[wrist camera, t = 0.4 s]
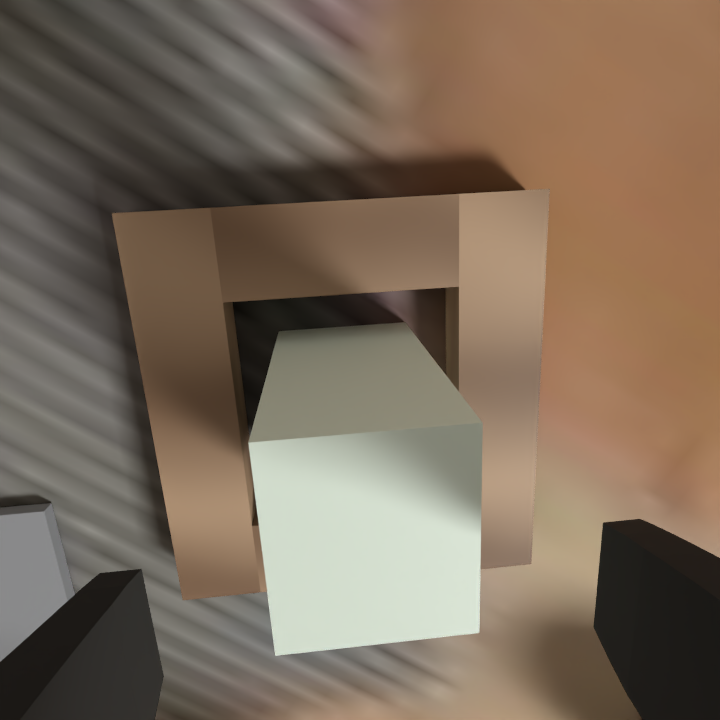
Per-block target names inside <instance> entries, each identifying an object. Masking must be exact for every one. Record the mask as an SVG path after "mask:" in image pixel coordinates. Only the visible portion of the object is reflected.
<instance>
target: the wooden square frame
mask: <svg viewBox="0 0 720 720" xmlns="http://www.w3.org/2000/svg"><path fill="white" fill-rule="evenodd" d="M549 192H550V189H538V190H520V191H502V192H484V193H466V194H448V195H430V196H412V197H394V198H377V199H359V200H341V201H323V202H305V203H287V204H269V205H251V206H233V207H215V208H197V209H179V210H161V211H143V212H125V213H112V218H113V224H114V229H115V234H116V240H117V245H118V251H119V256H120V262H121V267H122V272H123V278H124V283H125V289H126V294H127V300H128V305H129V310H130V316H131V321H132V327H133V332H134V338H135V343H136V348H137V354H138V359H139V365H140V370H141V376H142V381H143V386H144V392H145V397H146V403H147V408H148V413H149V419H150V424H151V430H152V435H153V441H154V446H155V451H156V457H157V462H158V468H159V473H160V479H161V484H162V489H163V495H164V500H165V506H166V511H167V517H168V522H169V527H170V533H171V538H172V544H173V549H174V555H175V560H176V565H177V571H178V576H179V582H180V587H181V593H182V598H183V600H190V599H199V598H209V597H219V596H228V595H238V594H247V593H257V592H267V586H266V578H265V570H264V562H263V554H262V546H261V539H260V531H259V523H258V515H257V507H256V499H255V491H254V483H253V475H252V468H251V460H250V452H249V444H248V442H249V430H248V422H247V414H246V406H245V398H244V390H243V382H242V374H241V366H240V358H239V350H238V342H237V334H236V326H235V318H234V310H233V302H239V301H253V300H268V299H283V298H298V297H313V296H327V295H342V294H357V293H372V292H387V291H401V290H416V289H431V288H446V376H447V377H448V378H449V380H450V381H451V382H452V384H453V385H454V386H455V387H456V389H457V390H458V391H459V393H460V394H461V395H462V396H463V398H464V399H465V400H466V402H467V403H468V404H469V406H470V407H471V408H472V409H473V411H474V412H475V413H476V415H477V416H478V417H479V419H480V420H481V421H482V422H483V437H482V500H481V563H480V569H488V568H497V567H507V566H516V565H526V564H531V558H532V537H533V517H534V497H535V476H536V456H537V436H538V415H539V395H540V375H541V354H542V334H543V314H544V293H545V273H546V253H547V232H548V212H549Z"/></svg>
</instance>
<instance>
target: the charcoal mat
mask: <svg viewBox="0 0 720 720" xmlns="http://www.w3.org/2000/svg"><path fill="white" fill-rule="evenodd" d="M74 595H75V593H74V589H73V585H72V581H71V577H70V573H69V570H68V566H67V562H66V558H65V554H64V550H63V546H62V542H61V538H60V534H59V531H58V527H57V523H56V519H55V515H54V511H53V507H52V503H46V504H35V505H23V506H12V507H1V508H0V662H1V661H2V660H3V659H4V658H5V657H6V656H7V655H8V654H9V653H11V652H12V651H13V650H14V649H15V648H16V647H17V646H18V645H20V644H21V643H22V642H23V641H24V640H25V639H26V638H27V637H29V636H30V635H31V634H32V633H33V632H34V631H35V630H36V629H37V628H38V627H40V626H41V625H42V624H43V623H44V622H45V621H46V620H47V619H48V618H49V617H51V616H52V615H53V614H54V613H55V612H56V611H57V610H58V609H59V608H60V607H62V606H63V605H64V604H65V603H66V602H67V601H68V600H69V599H70V598H72V597H73V596H74Z"/></svg>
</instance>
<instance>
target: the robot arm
mask: <svg viewBox="0 0 720 720" xmlns="http://www.w3.org/2000/svg"><path fill="white" fill-rule="evenodd" d="M594 629H595V631H596V633H597V635H598V637H599V639H600V641H601V644H602V646H603V648H604V650H605V652H606V654H607V656H608V658H609V660H610V662H611V664H612V666H613V668H614V670H615V672H616V674H617V676H618V678H619V680H620V682H621V684H622V686H623V688H624V689H625V691H626V693H627V695H628V697H629V698H630V700H631V701H632V703H633V705H634V706H635V708H636V709H637V711H638V713H639V714H640V716H641V717H642V719H643V720H720V558H719V557H717V556H715V555H713V554H711V553H709V552H707V551H705V550H703V549H701V548H699V547H697V546H695V545H694V544H692V543H690V542H688V541H686V540H684V539H682V538H680V537H678V536H676V535H674V534H672V533H670V532H668V531H666V530H663V529H661V528H659V527H657V526H655V525H653V524H650V523H648V522H646V521H644V520H641V519H635V520H625V521H615V522H605V523H603V530H602V541H601V552H600V563H599V574H598V585H597V596H596V607H595V618H594ZM163 677H164V676H163V671H162V666H161V661H160V657H159V652H158V647H157V642H156V637H155V632H154V628H153V623H152V618H151V613H150V608H149V604H148V599H147V594H146V589H145V584H144V579H143V575H142V570H141V569H137V570H127V571H117V572H107V573H100V574H98V575H97V576H96V577H95V578H94V579H92V580H91V581H90V582H89V583H88V584H86V585H85V586H84V587H83V588H82V589H81V590H79V591H78V592H77V593H76V594H75V595H74V596H73V597H72V598H70V599H69V600H68V601H67V602H66V603H65V604H64V605H63V606H62V607H60V608H59V609H58V610H57V611H56V612H55V613H54V614H53V615H52V616H51V617H49V618H48V619H47V620H46V621H45V622H44V623H43V624H42V625H41V626H40V627H38V628H37V629H36V630H35V631H34V632H33V633H32V634H31V635H30V636H29V637H27V638H26V639H25V640H24V641H23V642H22V643H21V644H20V645H18V646H17V647H16V648H15V649H14V650H13V651H12V652H11V653H9V654H8V655H7V656H6V657H5V658H4V659H3V660H2V661H1V662H0V720H155V716H156V711H157V706H158V701H159V696H160V691H161V686H162V681H163Z"/></svg>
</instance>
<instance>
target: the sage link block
mask: <svg viewBox="0 0 720 720" xmlns="http://www.w3.org/2000/svg"><path fill="white" fill-rule="evenodd" d="M482 437H483V422H482V421H481V420H480V419H479V417H478V416H477V415H476V413H475V412H474V411H473V409H472V408H471V407H470V406H469V404H468V403H467V402H466V400H465V399H464V398H463V396H462V395H461V394H460V393H459V391H458V390H457V389H456V387H455V386H454V385H453V384H452V382H451V381H450V380H449V378H448V377H447V376H446V374H445V373H444V372H443V371H442V369H441V368H440V367H439V365H438V364H437V363H436V362H435V360H434V359H433V358H432V356H431V355H430V354H429V352H428V351H427V350H426V349H425V347H424V346H423V345H422V343H421V342H420V341H419V339H418V338H417V337H416V336H415V334H414V333H413V332H412V330H411V329H410V328H409V327H408V325H407V324H406V323H405V322H401V323H387V324H373V325H359V326H345V327H331V328H317V329H303V330H289V331H279V332H278V336H277V339H276V343H275V347H274V350H273V354H272V358H271V361H270V365H269V369H268V372H267V376H266V380H265V383H264V387H263V391H262V394H261V398H260V402H259V405H258V409H257V413H256V416H255V420H254V424H253V427H252V431H251V435H250V438H249V442H248V444H249V452H250V460H251V468H252V475H253V483H254V491H255V499H256V507H257V515H258V523H259V531H260V539H261V546H262V554H263V562H264V570H265V578H266V586H267V594H268V602H269V610H270V617H271V625H272V633H273V641H274V649H275V656H277V655H286V654H295V653H304V652H313V651H322V650H331V649H340V648H349V647H358V646H367V645H376V644H384V643H393V642H402V641H411V640H420V639H429V638H438V637H447V636H456V635H465V634H474V633H479V626H480V563H481V500H482Z"/></svg>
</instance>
